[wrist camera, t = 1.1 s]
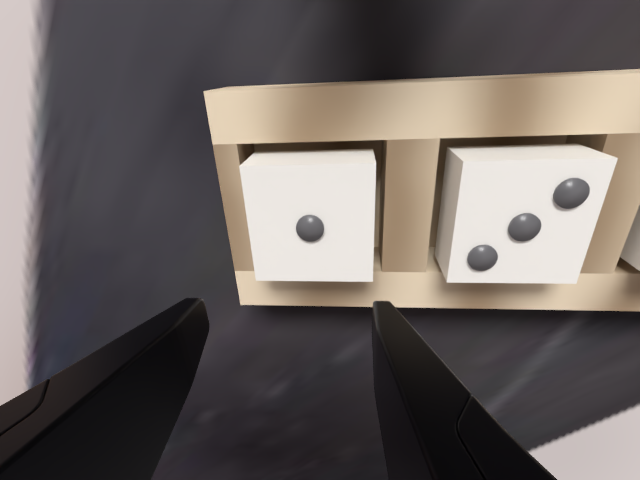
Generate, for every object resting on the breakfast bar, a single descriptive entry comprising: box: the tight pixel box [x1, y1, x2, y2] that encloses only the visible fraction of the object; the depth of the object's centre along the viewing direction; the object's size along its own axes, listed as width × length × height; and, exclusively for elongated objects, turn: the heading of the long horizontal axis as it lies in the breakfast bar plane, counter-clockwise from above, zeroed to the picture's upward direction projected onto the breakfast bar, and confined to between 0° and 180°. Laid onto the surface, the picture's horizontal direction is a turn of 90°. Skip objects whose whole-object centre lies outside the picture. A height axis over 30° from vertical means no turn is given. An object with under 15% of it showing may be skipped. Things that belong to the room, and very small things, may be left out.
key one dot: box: [239, 149, 376, 282], centre depth 15 cm, size 5×5×2 cm
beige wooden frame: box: [204, 69, 640, 311], centre depth 16 cm, size 24×10×3 cm, turn 92°
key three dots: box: [435, 144, 618, 284], centre depth 14 cm, size 5×5×2 cm
